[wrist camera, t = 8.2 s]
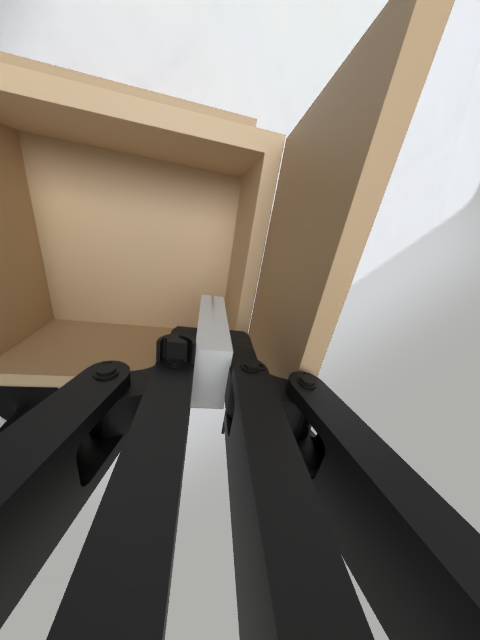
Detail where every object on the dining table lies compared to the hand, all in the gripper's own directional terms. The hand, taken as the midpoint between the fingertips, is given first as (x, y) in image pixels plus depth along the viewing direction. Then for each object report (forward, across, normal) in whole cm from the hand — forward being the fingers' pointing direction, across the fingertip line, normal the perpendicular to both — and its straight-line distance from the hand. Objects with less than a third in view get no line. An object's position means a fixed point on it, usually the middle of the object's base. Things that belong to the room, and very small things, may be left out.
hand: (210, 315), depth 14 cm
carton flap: (-1, +4, 0) cm, 4 cm away
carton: (+17, -8, +1) cm, 19 cm away
